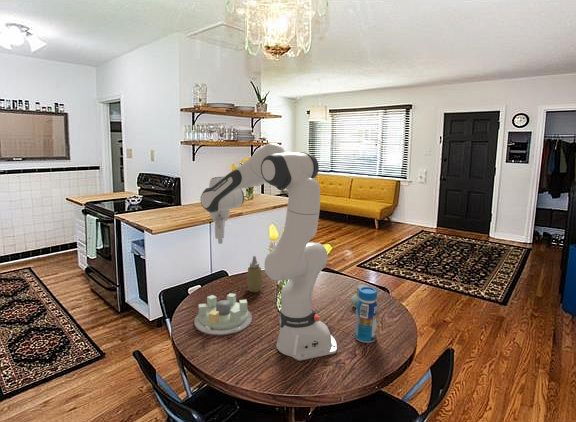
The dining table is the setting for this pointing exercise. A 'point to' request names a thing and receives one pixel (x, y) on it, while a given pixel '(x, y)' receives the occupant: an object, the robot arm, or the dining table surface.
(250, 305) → the dining table surface
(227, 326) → the green toy gear
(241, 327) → the mount plate
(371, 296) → the blue wipes canister
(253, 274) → the squeeze bottle
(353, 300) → the air freshener
